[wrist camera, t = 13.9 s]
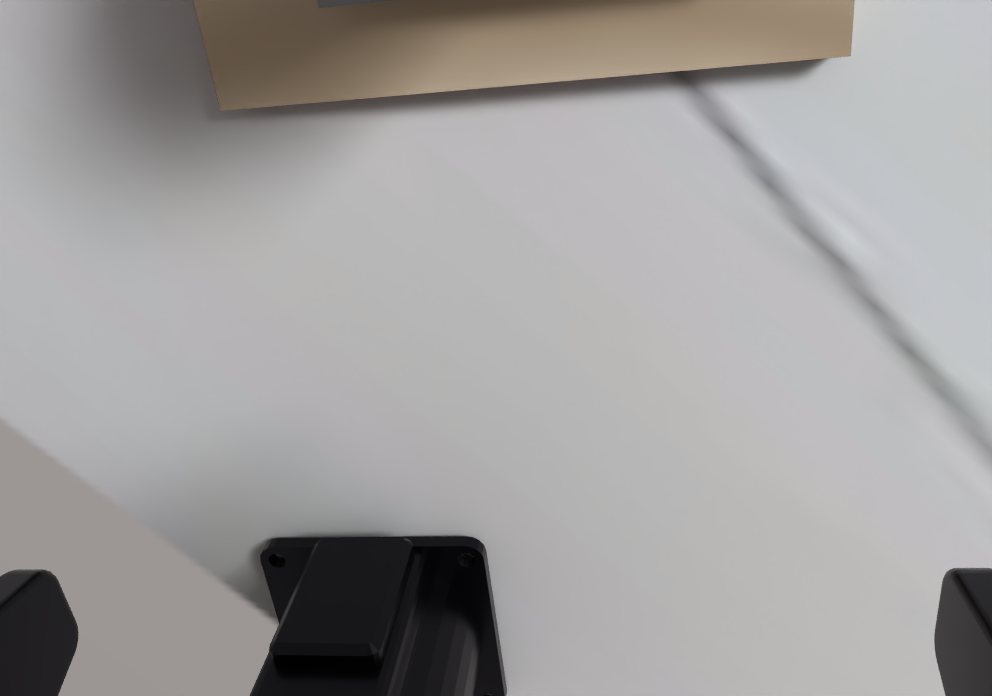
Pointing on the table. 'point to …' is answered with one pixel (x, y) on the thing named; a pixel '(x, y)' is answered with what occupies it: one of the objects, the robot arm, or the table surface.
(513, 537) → the table surface
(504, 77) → the board
